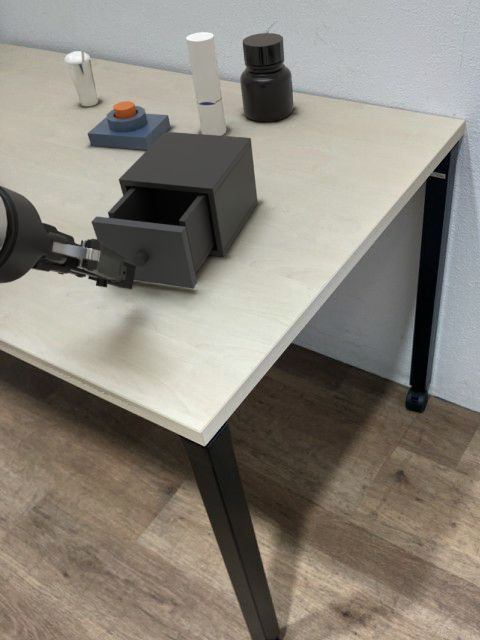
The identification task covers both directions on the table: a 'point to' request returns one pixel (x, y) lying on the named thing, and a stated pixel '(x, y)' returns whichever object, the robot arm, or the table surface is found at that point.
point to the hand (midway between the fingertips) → (128, 276)
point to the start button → (124, 110)
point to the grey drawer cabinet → (202, 177)
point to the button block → (129, 130)
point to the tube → (206, 83)
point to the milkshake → (82, 77)
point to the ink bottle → (265, 78)
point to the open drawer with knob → (160, 234)
